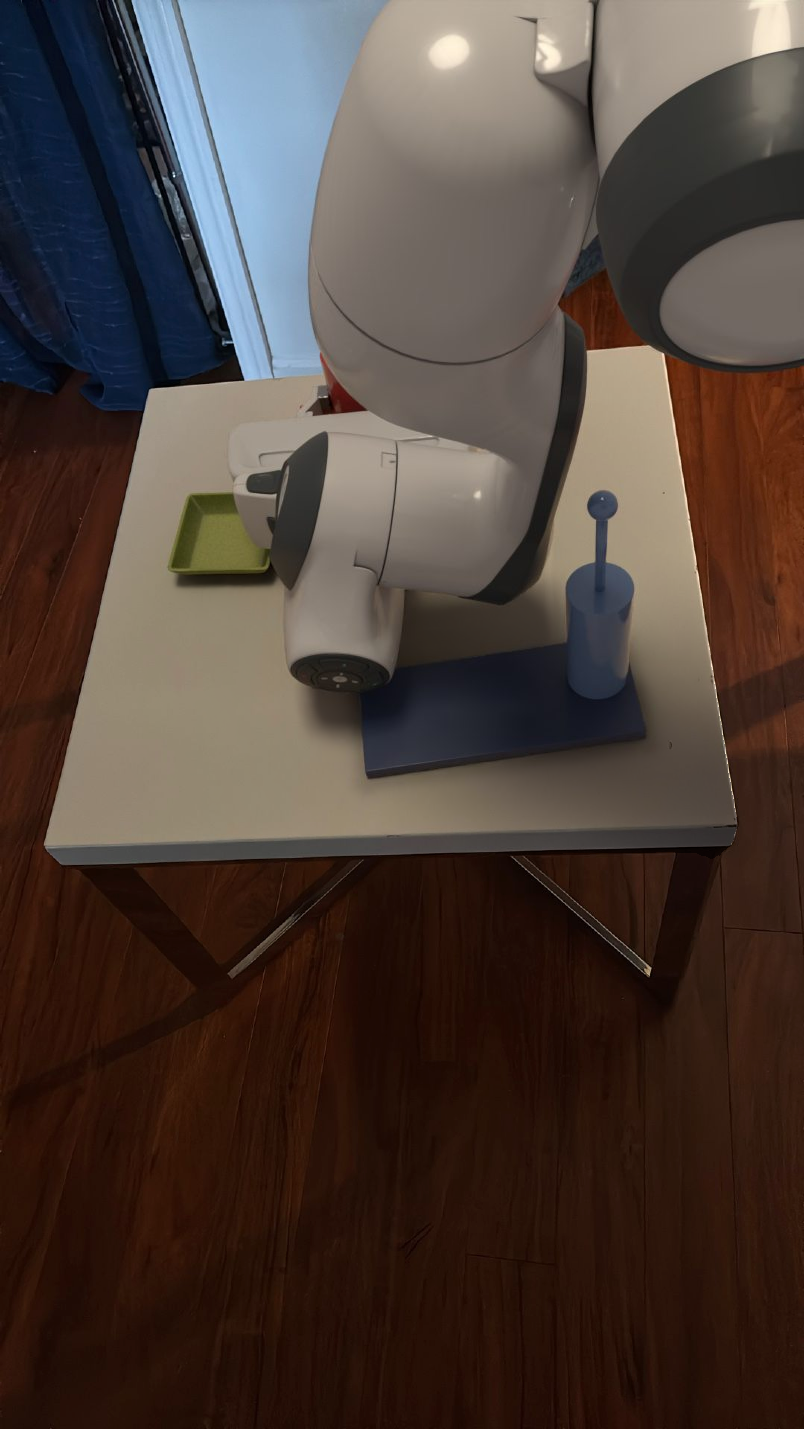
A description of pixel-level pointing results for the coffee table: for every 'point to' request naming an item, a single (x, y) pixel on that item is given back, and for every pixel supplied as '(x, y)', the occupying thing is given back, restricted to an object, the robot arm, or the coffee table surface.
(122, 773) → the coffee table surface
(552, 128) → the robot arm
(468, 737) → the navy board
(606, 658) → the blue cylinder with rod
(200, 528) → the green tray
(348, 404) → the red ball-topped plunger
